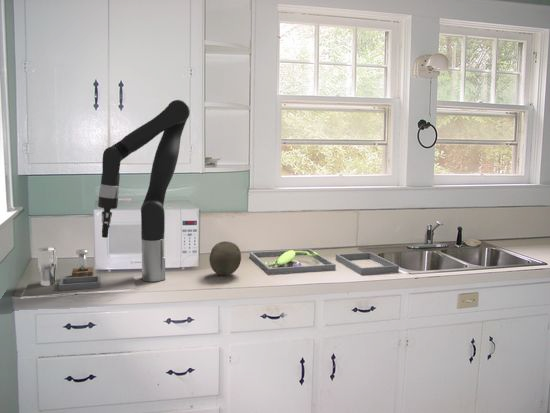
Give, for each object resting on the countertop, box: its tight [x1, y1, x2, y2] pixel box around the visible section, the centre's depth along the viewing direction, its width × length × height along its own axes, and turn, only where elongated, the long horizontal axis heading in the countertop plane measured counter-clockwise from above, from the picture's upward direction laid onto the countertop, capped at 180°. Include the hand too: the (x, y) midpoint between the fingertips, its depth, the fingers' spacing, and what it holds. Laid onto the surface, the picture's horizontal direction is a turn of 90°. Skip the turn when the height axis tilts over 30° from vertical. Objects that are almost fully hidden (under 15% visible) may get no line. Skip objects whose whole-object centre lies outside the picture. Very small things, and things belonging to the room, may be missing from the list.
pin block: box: [71, 266, 94, 277], centre depth 217 cm, size 8×8×4 cm
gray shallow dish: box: [335, 251, 400, 276], centre depth 247 cm, size 19×27×3 cm
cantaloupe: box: [208, 241, 242, 277], centre depth 225 cm, size 14×14×15 cm
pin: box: [75, 248, 89, 272], centre depth 216 cm, size 4×4×11 cm
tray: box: [58, 275, 102, 291], centre depth 206 cm, size 15×10×3 cm, turn 108°
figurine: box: [264, 249, 319, 268], centre depth 249 cm, size 18×27×6 cm
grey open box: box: [249, 248, 337, 275], centre depth 250 cm, size 32×32×2 cm
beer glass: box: [37, 246, 58, 287], centre depth 206 cm, size 7×7×15 cm
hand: (104, 235), depth 213 cm, fingers open, 8 cm apart
